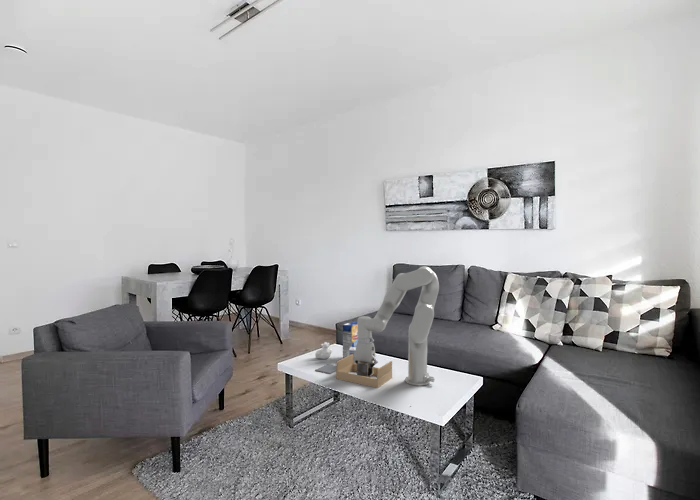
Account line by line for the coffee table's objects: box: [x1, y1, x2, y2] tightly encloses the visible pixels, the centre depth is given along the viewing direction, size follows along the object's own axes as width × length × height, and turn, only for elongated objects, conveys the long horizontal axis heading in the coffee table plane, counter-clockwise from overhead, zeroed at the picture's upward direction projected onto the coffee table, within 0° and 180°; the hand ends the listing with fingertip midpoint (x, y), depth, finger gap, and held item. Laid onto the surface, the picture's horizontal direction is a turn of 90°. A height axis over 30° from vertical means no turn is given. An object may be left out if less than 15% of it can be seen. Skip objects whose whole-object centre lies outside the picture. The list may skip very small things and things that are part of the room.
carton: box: [335, 354, 393, 389], centre depth 211 cm, size 25×17×9 cm
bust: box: [315, 341, 333, 360], centre depth 245 cm, size 12×8×11 cm
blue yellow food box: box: [342, 321, 358, 359], centre depth 243 cm, size 7×11×22 cm, turn 143°
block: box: [356, 361, 374, 377], centre depth 210 cm, size 5×9×7 cm, turn 149°
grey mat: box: [315, 363, 336, 375], centre depth 225 cm, size 10×12×1 cm
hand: (365, 373), depth 210 cm, fingers closed on block, 5 cm apart
